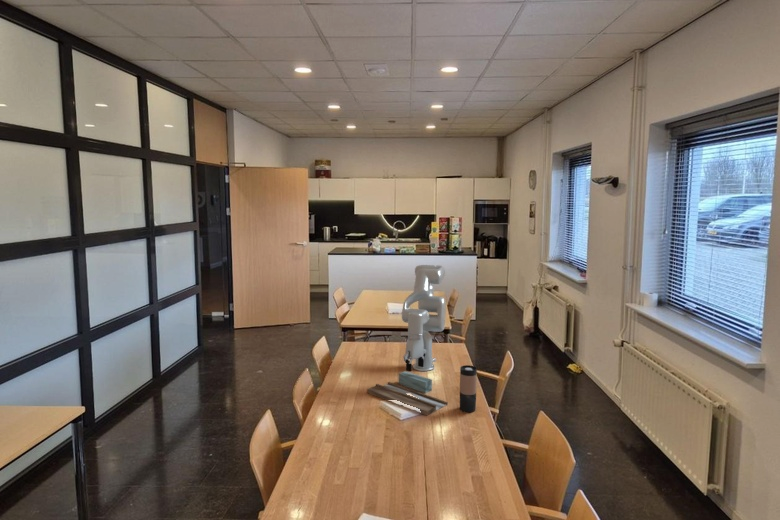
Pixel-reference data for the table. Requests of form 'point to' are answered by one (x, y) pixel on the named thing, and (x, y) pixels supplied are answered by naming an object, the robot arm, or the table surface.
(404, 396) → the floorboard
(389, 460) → the table surface
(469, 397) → the travel mug
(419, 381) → the teal rectangular block
